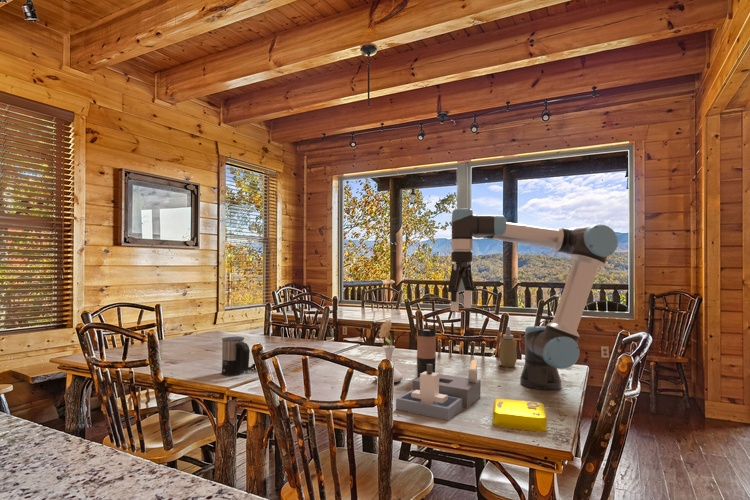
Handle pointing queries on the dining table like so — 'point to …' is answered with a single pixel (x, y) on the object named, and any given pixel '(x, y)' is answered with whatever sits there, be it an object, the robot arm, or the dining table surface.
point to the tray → (429, 406)
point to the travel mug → (426, 349)
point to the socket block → (456, 388)
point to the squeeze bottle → (508, 350)
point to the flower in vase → (389, 347)
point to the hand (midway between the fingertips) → (461, 309)
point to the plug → (429, 388)
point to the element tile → (519, 415)
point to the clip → (473, 372)
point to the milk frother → (235, 356)
